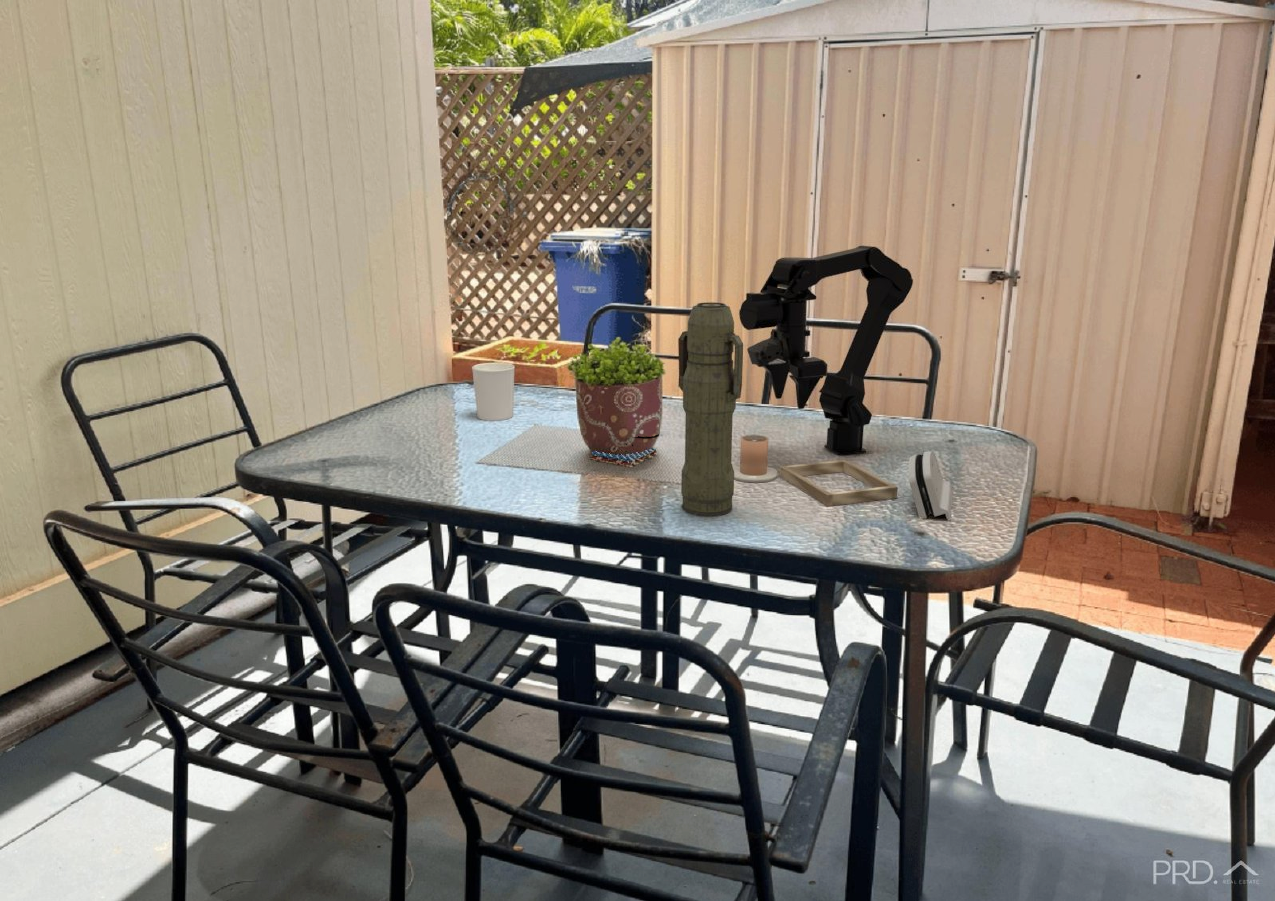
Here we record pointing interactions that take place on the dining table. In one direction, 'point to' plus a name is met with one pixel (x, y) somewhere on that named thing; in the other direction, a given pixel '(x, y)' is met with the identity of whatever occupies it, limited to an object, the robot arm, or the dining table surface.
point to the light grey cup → (494, 390)
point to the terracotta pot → (754, 455)
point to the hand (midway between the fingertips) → (789, 403)
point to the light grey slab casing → (929, 486)
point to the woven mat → (624, 457)
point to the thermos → (709, 407)
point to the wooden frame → (877, 492)
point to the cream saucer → (766, 477)
